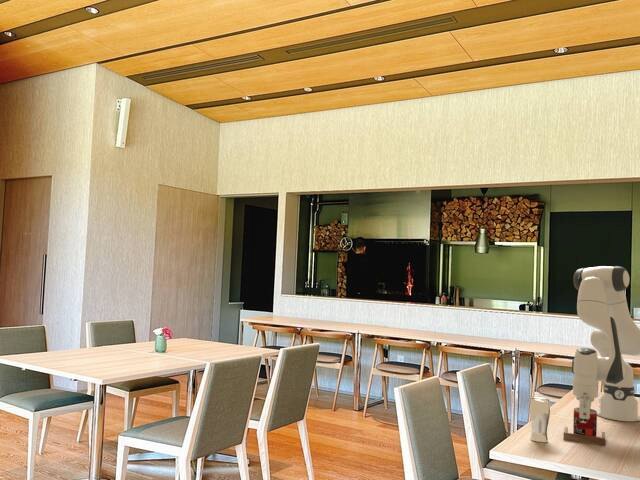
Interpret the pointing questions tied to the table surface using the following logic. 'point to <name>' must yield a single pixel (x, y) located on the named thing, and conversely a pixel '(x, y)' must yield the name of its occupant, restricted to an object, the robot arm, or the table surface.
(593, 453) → the table surface
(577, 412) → the canned food
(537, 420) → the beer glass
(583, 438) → the open wooden square
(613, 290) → the robot arm
